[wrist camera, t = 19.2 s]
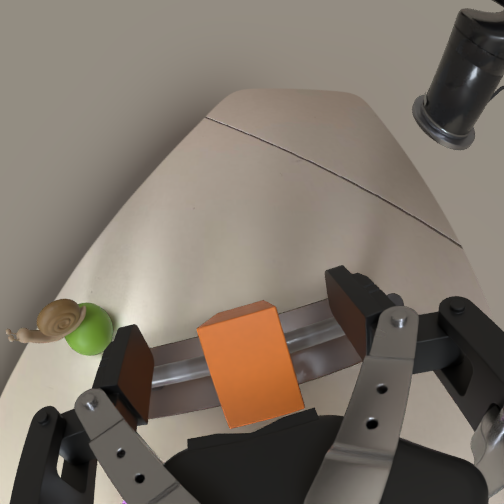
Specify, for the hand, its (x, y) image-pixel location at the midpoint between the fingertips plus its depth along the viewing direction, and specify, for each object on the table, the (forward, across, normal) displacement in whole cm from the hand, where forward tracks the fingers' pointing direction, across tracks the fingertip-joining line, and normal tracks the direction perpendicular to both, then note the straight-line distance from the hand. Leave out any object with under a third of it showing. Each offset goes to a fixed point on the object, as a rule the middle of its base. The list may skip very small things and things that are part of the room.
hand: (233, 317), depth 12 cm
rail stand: (+12, 0, +14) cm, 18 cm away
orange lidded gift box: (+10, 0, +9) cm, 14 cm away
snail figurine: (+17, +16, +9) cm, 25 cm away
